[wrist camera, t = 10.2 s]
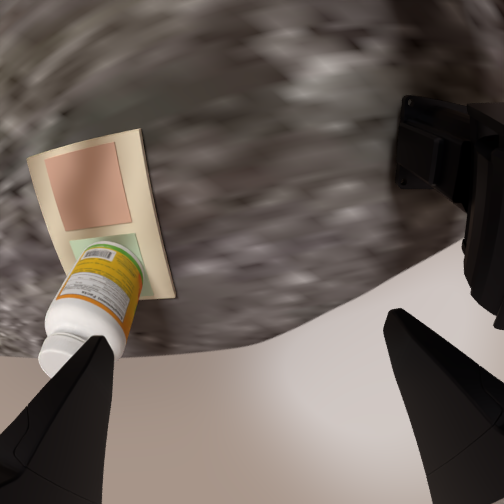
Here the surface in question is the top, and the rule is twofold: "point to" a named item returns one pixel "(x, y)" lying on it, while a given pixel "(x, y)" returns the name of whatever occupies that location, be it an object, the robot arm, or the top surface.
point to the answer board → (103, 203)
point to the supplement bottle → (93, 304)
